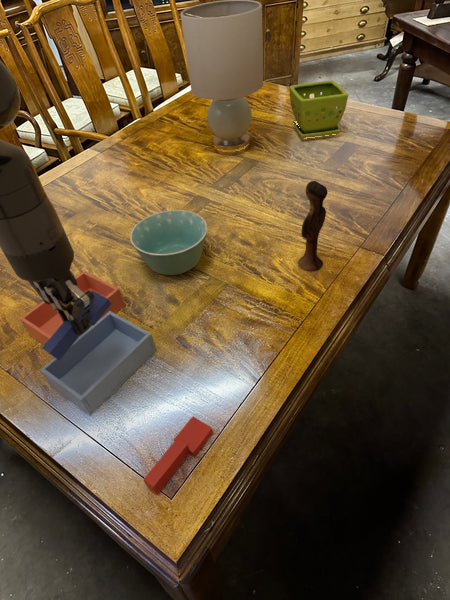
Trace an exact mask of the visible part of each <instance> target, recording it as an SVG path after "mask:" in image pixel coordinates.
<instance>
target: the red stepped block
mask: <svg viewBox="0 0 450 600" xmlns="http://www.w3.org/2000/svg"><path fill="white" fill-rule="evenodd" d="M212 435H214V429H213V428H212V427H211V426H209V425H208V424H207V423H204V422H203V421H201V420H200V419H198V417H196V416H194V415H192V417H191V418H190V419H189V420H188V421H187V423H185V425H184V426H183V428H182V429H181V430H180V431H179V432H178V433H177V435H176V436H175V437H174V438H173V441H174V442H173V443H172V444H171V445H170V447H169V448H167V450H166V451H165V452H164V454H163V455H162V456H161V457H160V458H159V460H158V461H157V462H156V464H154V466H153V467H152V468H151V469H150V471H149V472H148V473H147V474H146V476H145V477H144V478H143V482H144V484H145V486H146V487H147V489H149V490H150V491H151V492H153V493H154V494H155V495H156V496H157V495H159V493H160V492H161V491H162V489H163V488H164V487H165V486H166V484H167V483H168V482H169V481H170V479H171V478H172V477H173V475H174V474H175V473H176V472H177V470H178V469H179V468H180V467H181V465H182V464H183V463H184V461H185V460H186V459H187V458H188V456H189V455H190V456H192V457H194V458H195V457H196V456H197V454H198V453H199V452H200V451H201V449H202V448H203V447H204V445H205V444H206V443H207V442H208V440H209V439H210V437H212Z"/></svg>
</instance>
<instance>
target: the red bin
mask: <svg viewBox="0 0 450 600" xmlns="http://www.w3.org/2000/svg"><path fill="white" fill-rule="evenodd" d="M75 278H76V280H77V286H78V288H79V289H80V290H81V291H82V292H83V293H84V292H87V291H88V290H89V291H92V290H93V291H95V292H96V293H98V294H100V295H102V296H104V297H105V298H107V299H108V300H109V301H110V302H111V303H112V304H111V305H110V307H109V308H108V309H107V310H106V311H105V313H104V314H103V315H102V316H101V318H102V317H103V316H104V315H106V314H107V313H108V312H109V311H111V312H113V313H115V314H117V313H118V312H119V311H121V310H122V309H123V308H124V307H125V306H126V303H125V300H124V297H123V295H122V292H121V290H120V288H119V287H117V286H115V285H113V284H111V283H109V282H108V281H105V280H103V279H101V278H99V277H97V276H95V275H93V274H91V273H89V272H87V271H85V270H83V271H82V272H80V273H78V275H77V276H75ZM101 318H100V319H101ZM100 319H99V320H100ZM19 320H20V322H21V323H22V325H23V327H24V328H25V330H26V332H27V333H28V335H29V336H30V337H32V338H34V339H35V340H37V341H38V342H40V343H41V344H42V345H43V346H44V345H45V344H46V342H47V341H48V340H49V339H50V338H51V336H52V335H53V334H54V333H55V332H56V331H57V329H58V328H59V327H60V326H61V325H62V324H63V321H62V319H61V317H60V315H59V313H57V312H56V311H54V310H53V307H52V305H51V304H49V305H48V304H46V303H45V302H44V300H42V302H40V303H38V304H37V305H36V306H34V307H33V308H32V309H30V310H29V311H27V313H25V314H24V315H22V316H21V317H20V318H19ZM89 325H90V327H91V326H92V325H91V324H89ZM90 327H89V328H90Z"/></svg>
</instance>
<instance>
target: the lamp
mask: <svg viewBox="0 0 450 600" xmlns="http://www.w3.org/2000/svg"><path fill="white" fill-rule="evenodd" d="M180 20H181V21H180V23H181V27H182V35H183V43H184V47H185V48H184V49H185V56H186V64H187V70H188V71H187V72H188V76H189V78H188V79H189V84H190V91H191V94H192V95H193V96H195V97H197V98H200V99H203V100H210V101H211V102H210V103H209V106H208V109H207V113H206V119H207V125H208V128H209V130H210V131H211V132H212V134H213V135H214V136H215V137H214V138H213V139H212V142H213V146H214V145H215V146H216V147H217V148H219V149H223V150H235V149H239V148H242V147H244V146H246V145H247V144H248V143H249V142H250V136H249V134H248V131H249V130H250V127H251V124H252V121H253V112H252V108H251V106H250V103H249V102H248V101H247V99H246V98H245V97H248V96H250V95H254V94H255V93H257V92H259V91H260V90H261V89H262V88H263V87H264V47H263V46H264V45H263V42H264V41H263V4H262V3H261V2H259V1H257V0H216V1H215V0H214V1H210V2H203V3H199V4H196V5H192V6H189V7H186V8H185V9H183V10H182V11H181V12H180ZM250 143H251V142H250ZM250 143H249V145H248V146H247V147H246V148H245V149H242V150H240V151H235V152H222V151H219V150H217V149H215V148H214V147H213V150H214V151H215V153H217V154H218V155H223V156H236V155H239V154H243V153H245V152H246V151H248V150H249V149H250V147H251V145H250Z"/></svg>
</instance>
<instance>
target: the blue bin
mask: <svg viewBox="0 0 450 600" xmlns="http://www.w3.org/2000/svg"><path fill="white" fill-rule="evenodd" d="M156 351H157V347H156V344H155V341H154V338H153V335H152V333H151V332H149V331H147V330H146V329H144V328H142V327H140V326H138V325H136V324H135V323H133V322H132V321H129V320H128V319H126V318H124V317H123V316H120V315H118V314H117V313H116V314H115V313H113V312H111V311H109V312H108V313H107V314H106V315H104V316H103V317H102V318H101V319H100V320H98V321H97V322H96V324H95V325H94V326H93V325H92V326H91V327H90V328H89V329H88V330H87V331H86V332H85V333H83V334H82V335H81V336H79V337H78V339H77V340H76V341H75V342H74V343H73V345H72V346H71V347H70V348H69V349H68V351H67V352H66V353H65V354H64V356H63V357H62V358H61V359H60V360H58V359H57V358H55V357H53V358H52V359H51V360H49V362H47V363H46V364H45V365H43V367H41V368H40V369H39V371H40V373H41V374H42V375H43V377H44V379H45V380H46V381H47V383H48V384H49V386H50V387H51V388H52V389H54V390H55V391H56V392H57V393H59V394H60V395H62V397H64V398H66V399H67V400H69V401H70V402H71V403H72V404H73V405H75V406H76V407H78V408H79V409H80V410H82V412H84V413H86V414H87V415H88V416H90V417H91V416H92V415H93V414H94V413H95V412H96V411H97V410H98V409H99V408H100V407H102V405H103V404H104V403H105V402H106V401H107V400H109V398H110V397H111V396H113V394H115V392H116V391H118V389H119V388H121V386H122V385H124V384H125V382H127V380H128V379H129V378H130V377H131V376H132V375H133V374H135V373H136V372H137V371H138V370H139V368H141V367H142V366H143V364H145V363H146V362H147V361H148V360H149V358H151V357H152V355H154V354H155V352H156Z"/></svg>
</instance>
